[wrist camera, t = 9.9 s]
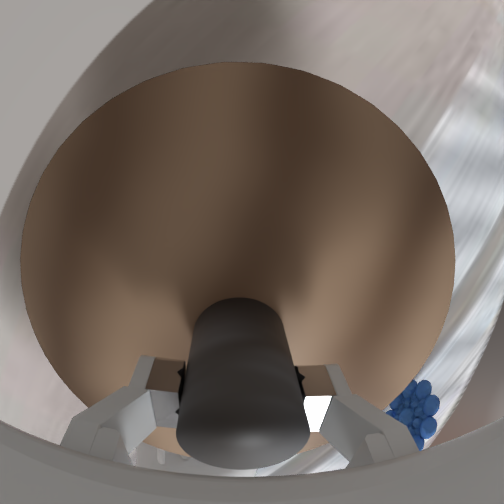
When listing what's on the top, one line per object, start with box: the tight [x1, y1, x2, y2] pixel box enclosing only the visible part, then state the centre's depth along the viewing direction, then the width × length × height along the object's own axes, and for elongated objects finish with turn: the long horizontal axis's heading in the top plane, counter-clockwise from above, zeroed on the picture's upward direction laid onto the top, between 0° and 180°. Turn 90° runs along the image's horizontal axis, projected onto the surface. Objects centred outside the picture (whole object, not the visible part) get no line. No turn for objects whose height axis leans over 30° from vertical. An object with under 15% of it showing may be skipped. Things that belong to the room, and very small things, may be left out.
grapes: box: [386, 380, 440, 451], centre depth 34 cm, size 12×7×12 cm, turn 152°
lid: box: [20, 62, 455, 470], centre depth 10 cm, size 20×20×6 cm
